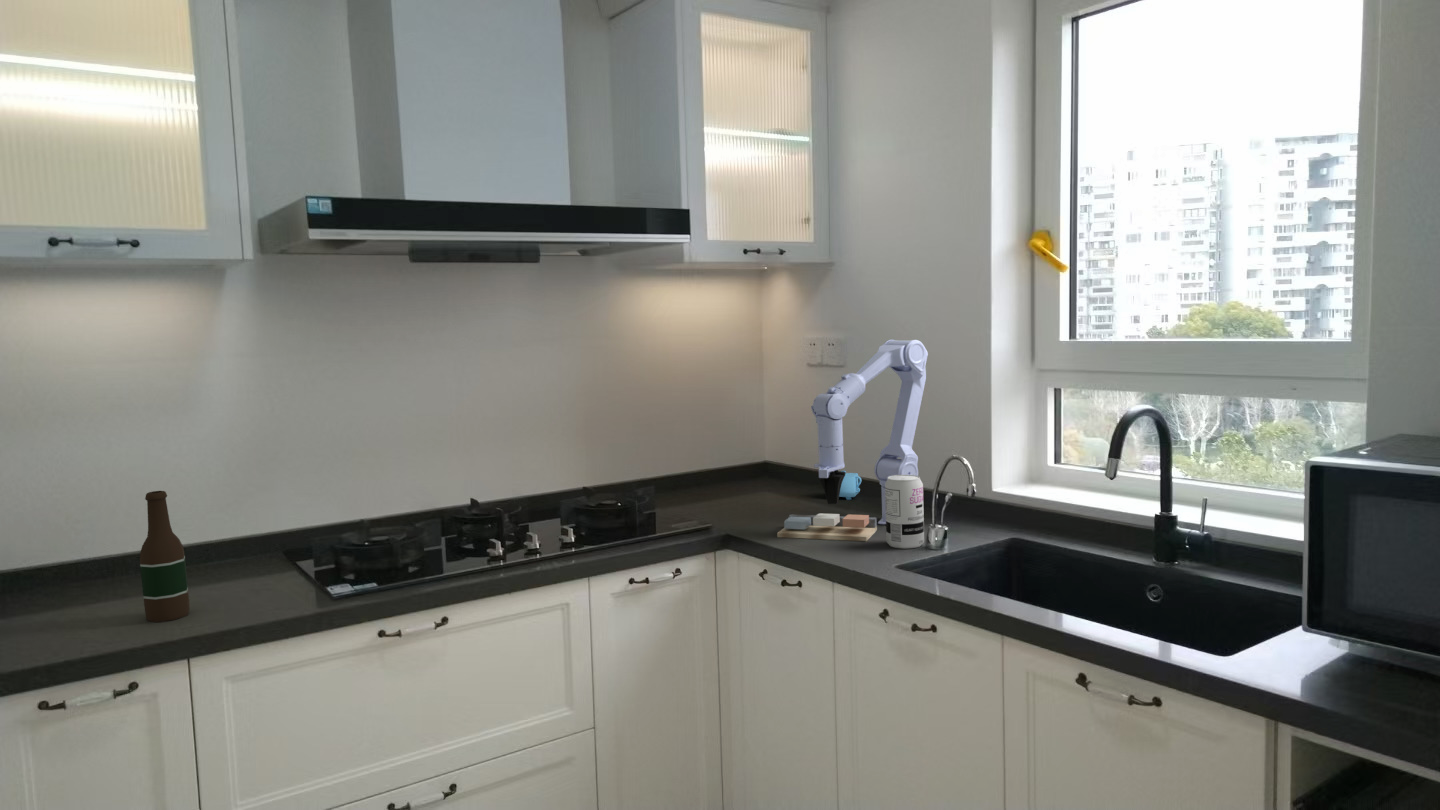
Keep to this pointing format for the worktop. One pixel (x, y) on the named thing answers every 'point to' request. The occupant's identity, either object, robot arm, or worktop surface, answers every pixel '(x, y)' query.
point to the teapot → (850, 485)
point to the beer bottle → (163, 565)
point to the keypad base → (831, 531)
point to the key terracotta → (855, 520)
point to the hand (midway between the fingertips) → (832, 503)
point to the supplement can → (904, 511)
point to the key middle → (826, 519)
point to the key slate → (797, 523)
